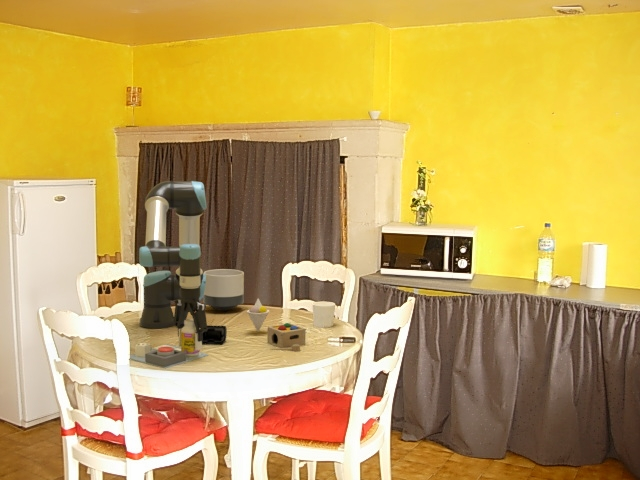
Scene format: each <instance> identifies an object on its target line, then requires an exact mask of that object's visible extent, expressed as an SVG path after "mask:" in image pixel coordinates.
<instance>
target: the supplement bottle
mask: <svg viewBox="0 0 640 480" xmlns="http://www.w3.org/2000/svg"><path fill="white" fill-rule="evenodd" d="M195 332H197V331H196V327H195V324H194V320H193V318H186V320H184V327H183V328H182V330H181V346H180V348H181V351H182V352H186V356H197V355H198V354H199V352H200V350H201V349H200V350H197V351H196V350H195Z"/></svg>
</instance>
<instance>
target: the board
mask: <svg viewBox="0 0 640 480" xmlns="http://www.w3.org/2000/svg"><path fill="white" fill-rule="evenodd" d="M160 347H172V348H173V349H174V350H178V351H181V346H175V345H173V344H172V345H171V344H169V343H167V344H162V345H159V346H155V347H152V348H151V352H153V351H156V350H158V348H160ZM129 355H130V359H131V360H130V359H129V360H130V361H134V362H139V363H142V364H146V365H150V366H153V367H154V366H155V367H157V368H158V367H159V368H162V369H169V368H172V367H175V366H179V365H182V364H185V363H188V362H192V361H194V360H198V359H201V358H205V357H208V356H209V354H208V353H203V352H200V351H199V354H198V355H197V356H186V361H183V362H180V363H177V364H173V365H170V366H167V367H162V366H159V365H155V364H152V363H148V362H145V357H140V356H135V352H134V353H132V354H129Z"/></svg>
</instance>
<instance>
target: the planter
mask: <svg viewBox="0 0 640 480" xmlns="http://www.w3.org/2000/svg"><path fill="white" fill-rule="evenodd" d="M203 274H205V275H206V283H205V284H206V285H205V292H204V296H203V298H202V299H203V301H202V303H203V304H205V305H206V306H208V307H210V308H212V309H214V310H217V311H229V310H233V309H235V308H237V307H238V306H240V305H243V304H244V302H245V300H244V298H245V297H244V295H245V294H244V292H245V287H244V284H245V283H244V282H245V272H244V271H242V270H238V269H230V268H228V269H227V268H220V269H219V268H218V269H208V270H204V272H203Z"/></svg>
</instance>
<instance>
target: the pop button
mask: <svg viewBox="0 0 640 480" xmlns="http://www.w3.org/2000/svg"><path fill="white" fill-rule="evenodd" d="M173 354H174V349H173V348H172V347H160V348H158V350H157V355H159V356H163V357H167V356H170V355H173Z"/></svg>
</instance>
